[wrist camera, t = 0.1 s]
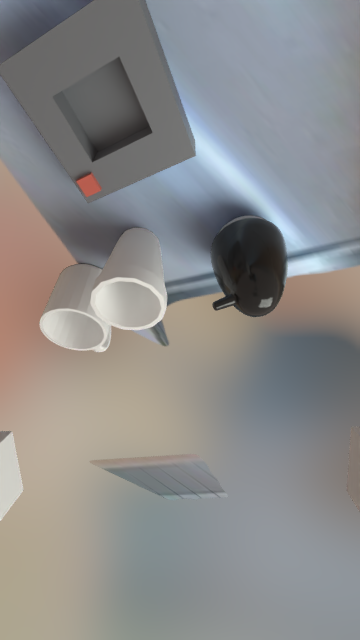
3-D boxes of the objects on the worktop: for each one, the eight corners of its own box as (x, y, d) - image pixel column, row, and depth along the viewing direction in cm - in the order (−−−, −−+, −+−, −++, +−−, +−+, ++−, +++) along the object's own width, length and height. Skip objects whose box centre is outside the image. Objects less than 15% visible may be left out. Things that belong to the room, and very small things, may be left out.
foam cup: (182, 252, 48) (180, 313, 39) (137, 278, 52) (126, 338, 43) (143, 205, 42) (130, 264, 33) (95, 238, 46) (74, 298, 37)
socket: (14, 58, 31) (-8, 68, 27) (136, -25, 26) (128, -25, 23) (95, 186, 40) (87, 205, 37) (195, 140, 36) (195, 157, 32)
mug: (46, 274, 52) (24, 320, 45) (94, 254, 48) (78, 300, 42) (92, 320, 60) (79, 363, 53) (135, 305, 57) (128, 350, 50)
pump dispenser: (205, 208, 42) (210, 281, 32) (282, 199, 41) (313, 271, 31) (210, 267, 50) (215, 340, 40) (275, 260, 48) (298, 335, 38)
